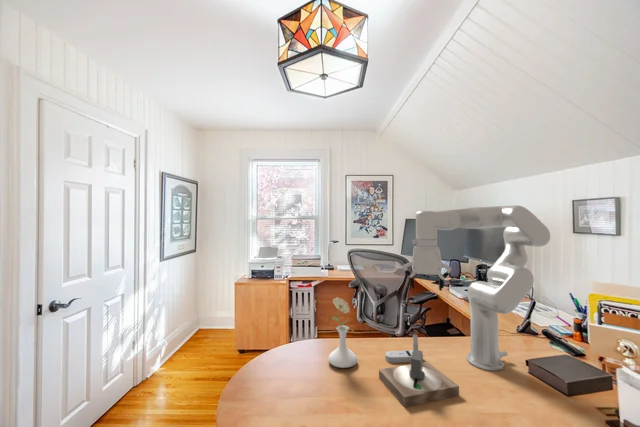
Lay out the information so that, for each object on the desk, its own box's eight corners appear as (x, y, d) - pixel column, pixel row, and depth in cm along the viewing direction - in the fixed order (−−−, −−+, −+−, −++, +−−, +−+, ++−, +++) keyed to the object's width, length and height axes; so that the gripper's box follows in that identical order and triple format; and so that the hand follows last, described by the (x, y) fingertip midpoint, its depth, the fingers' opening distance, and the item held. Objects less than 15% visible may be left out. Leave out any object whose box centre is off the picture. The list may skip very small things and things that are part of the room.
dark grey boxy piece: (410, 369, 99) (410, 348, 100) (425, 372, 97) (425, 351, 97) (406, 385, 90) (406, 362, 90) (423, 389, 88) (422, 366, 88)
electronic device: (383, 333, 116) (419, 332, 116) (384, 357, 116) (420, 356, 116) (386, 339, 111) (424, 337, 111) (387, 364, 111) (425, 362, 111)
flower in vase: (363, 366, 108) (362, 301, 108) (337, 374, 103) (337, 305, 103) (345, 352, 119) (345, 293, 120) (321, 357, 114) (321, 296, 115)
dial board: (427, 369, 106) (427, 360, 106) (459, 395, 90) (459, 385, 90) (379, 377, 100) (379, 368, 100) (404, 407, 85) (404, 396, 85)
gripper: (402, 243, 105) (402, 289, 105) (452, 245, 100) (453, 293, 100) (402, 242, 113) (403, 284, 112) (450, 243, 107) (450, 288, 107)
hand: (426, 288), depth 106 cm, fingers open, 9 cm apart
